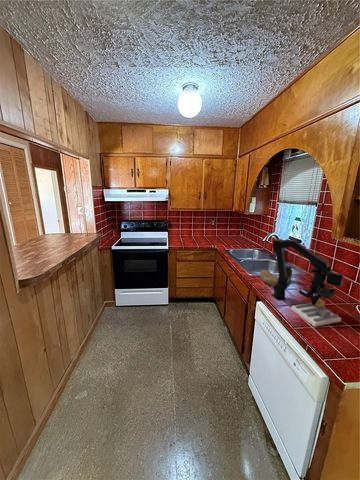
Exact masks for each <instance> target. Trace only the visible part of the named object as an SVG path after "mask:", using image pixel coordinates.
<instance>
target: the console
mask: <svg viewBox="0 0 360 480" xmlns="http://www.w3.org/2000/svg"><path fill="white" fill-rule="evenodd" d="M323 307H324V308H326V307H325V306H323ZM290 308H291V310H292V311H293V312H294V313H296V314H297V315H298V314H299V315H298V316H299V317H301V318H302V319H304V320H305V321H306V322H308V323H309V324H310V325H312V326H313V327H314V328H315V327H319V326H325V325H330V324H335V323H340V322H342V317H340V316H339V314H336V313H333V312H332V311H331V309H328V310H329V311H331V312H330V316H327V317H321V316H320V315H319V314H318V313H317V312H316V306H315V305H313V304H312V302H306V303H302V304H301V303H300V304H294V305H291V307H290Z"/></svg>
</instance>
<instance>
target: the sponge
mask: <svg viewBox="0 0 360 480" xmlns="http://www.w3.org/2000/svg"><path fill="white" fill-rule="evenodd" d="M259 276H260V277H259V278H260V279H261V280H262V281H263V282H264V283H266V284H268V285H270V286H275V285H276V284H277V283H278V278H279V277H277V276H276V275H275V274H273V273H272V272H271V271H269V270H266V269H262V270H261V271H260V273H259Z"/></svg>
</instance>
